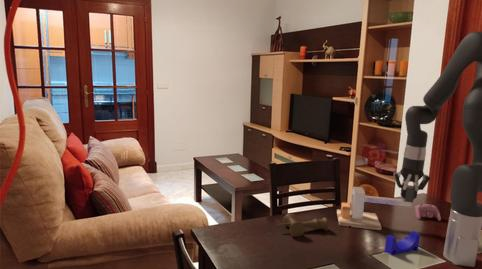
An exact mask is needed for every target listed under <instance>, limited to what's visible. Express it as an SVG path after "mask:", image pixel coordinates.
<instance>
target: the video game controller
mask: <svg viewBox="0 0 482 269" xmlns="http://www.w3.org/2000/svg"><path fill="white" fill-rule="evenodd" d="M414 212H415V216H416V218H417V220H421V218H425V217H426V216H427V218H429V219H431V218H433V217H434V216H435V218H436V220H437V221H438V222H440V221H441V220H442V217H441V213H440V210H439V209H438V207H437V206H436V205H434V204H428V203H421V204H417V205H415V206H414ZM426 212H427V213H426Z"/></svg>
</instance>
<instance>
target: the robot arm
mask: <svg viewBox="0 0 482 269" xmlns="http://www.w3.org/2000/svg"><path fill="white" fill-rule="evenodd" d="M474 62H475V63H476V64H477V65H476V76H475V80H474V82H473V84H472V86H471V88H470V90H469V91H468V93H467V95H466V97H465V99H464V102H463V107H462V120H461V121H462V127H463V130H464V132H465V134H466V136H467V138H468V140H469V143H470V145H471V148H472V160H471V161H472V162H471V164H461V165H458V166H457V167H456V168H455V170H454V172H453V174H452V179H451V185H450V187H451V188H450V198H449V199H450V205H451V206H450V211H449V212H450V214H449V217H448V224H447V228H446V235H445V240H444V248H443V253H442V254H443V257H444V258H445V259H446V260H447V261H449V262H451V263H452V264H453V265H455V266H462V267H463V266H464V267H471V268H474V267H475V265H476V260H477V256H478V249H479V246H480V236H481V232H482V203H480V202H478V194H479V193H482V31H477V30H476V31H472V32H470V33H468V34H466V36H464V38H463V39H462V40H461V41H460V42H459V44H458V46H457V48H456V49H455V51H454V53H453V55H452V56H451V57H450V59H449V61H448V62H447V65H446V66H445V68H444V69H443V71H442V73H441V74H440V76H439V77H438V78H437V80H436V81H435V82H434V84H433V85H432V86H431V87H430V88H429V89H428V91H426V93H425V94H424V96H423V100H422V101H423V103H424V105H412V106H410V107H408V109H407V110H406V112H405V117H404V118H405V119H404V121H405V126H406V132H407V135H406V136H407V137H406V142H405V143H406V144H405V148H404V150H403V158H402V166H401V169H400V171H397V172H396V171H395V172H393V173H392V174H393V175H392V176H393V178H394V181H395V183H396V186H397V187H398V188H399V189H400V196H401V199H403V198H404V199H405V195H406V187H407V185H409V183H412V186H413V187H414V188H415V192H414V198H413V201H414V200H415V199H417V196H418V191H420V190H421V191H423V190H424V189H425V188H426V186H427V184H428V183H429V182H430V180H431V177H430V176H429V175H428V174H425V173H424V167H425V161H426V154H427V143H428V132H426V131H424V130H422V128H421V125H429V124H431V123H433V122H434V121H435V120H436V119H437V117H438V115H439V114H440V111H441V110H442V108H443V106H444V105H445V104H446V102H448V100H449V99H450V98H451V97H452V96H453V95H454V93H455V92H456V90H457V87H458V84H459V80H460V78H461V76H462V74H463V72H465V70H466V69H467V68H468V67H469V66H471V64H473V63H474ZM401 176H402V178H403V179H402V182H401V180H400V178H401ZM421 178H422V179H421ZM419 180H421V182H420V183H419Z"/></svg>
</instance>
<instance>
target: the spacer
mask: <svg viewBox="0 0 482 269" xmlns="http://www.w3.org/2000/svg"><path fill="white" fill-rule="evenodd" d="M340 206H341V207H340V210H341V214H342V218H345V219H349V217H350V208H351V207H350V206H351V203H349V202H345V201H343V202H341V205H340Z"/></svg>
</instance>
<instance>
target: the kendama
mask: <svg viewBox="0 0 482 269" xmlns="http://www.w3.org/2000/svg"><path fill="white" fill-rule="evenodd" d="M297 218H298V217H297V216H296V215H295V214H294V213H287V214H285V215H284V216H283V219H282V221H283V223H277V226H281V227H287V228H289V229H288V231H289V234H290V235H291V236H292V237H294V238H296V237H297V238H298V237H301V236H304V233H305V231H306V230H305V229H306V228H310V229H314V230H315V231H317V230H323V231H325V232H327V231H328V230H329V220H328V218H327V217H322V218H320V219H319V218H318V219H317V218H313V219H312V220H309V221H303V222H301V221H297V220H298V219H297Z"/></svg>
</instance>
